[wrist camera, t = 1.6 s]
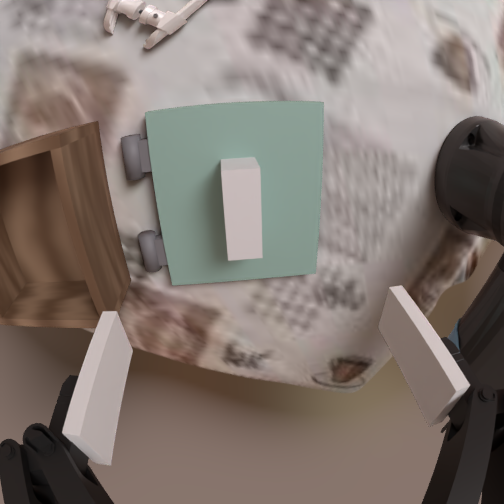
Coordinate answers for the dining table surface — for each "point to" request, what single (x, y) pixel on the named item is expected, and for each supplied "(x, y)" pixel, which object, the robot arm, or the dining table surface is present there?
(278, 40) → the dining table surface
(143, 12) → the door handle
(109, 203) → the cabinet
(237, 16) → the dining table surface
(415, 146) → the dining table surface
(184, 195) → the door
